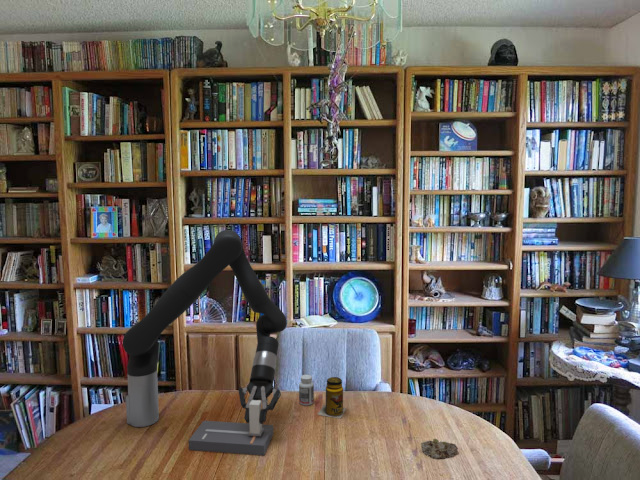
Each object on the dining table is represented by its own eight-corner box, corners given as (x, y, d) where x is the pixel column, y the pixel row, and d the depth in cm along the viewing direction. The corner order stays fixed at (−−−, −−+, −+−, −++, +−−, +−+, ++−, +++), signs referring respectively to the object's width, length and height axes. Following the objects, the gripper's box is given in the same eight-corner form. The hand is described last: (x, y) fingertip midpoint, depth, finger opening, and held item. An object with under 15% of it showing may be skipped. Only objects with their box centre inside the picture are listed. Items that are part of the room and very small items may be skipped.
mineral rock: (423, 453, 133) (420, 431, 140) (421, 464, 135) (418, 442, 142) (461, 456, 132) (456, 434, 140) (459, 467, 134) (454, 445, 141)
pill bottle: (307, 397, 173) (307, 372, 172) (316, 402, 169) (316, 377, 168) (296, 402, 170) (295, 376, 168) (305, 407, 165) (304, 381, 164)
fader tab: (247, 435, 140) (247, 405, 139) (251, 428, 144) (250, 399, 143) (260, 436, 139) (260, 405, 138) (263, 429, 143) (263, 399, 142)
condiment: (341, 418, 157) (341, 384, 156) (317, 415, 160) (317, 381, 158) (346, 409, 164) (346, 376, 163) (323, 405, 167) (323, 373, 165)
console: (188, 449, 138) (188, 439, 138) (203, 429, 150) (203, 420, 150) (264, 455, 136) (263, 445, 135) (273, 434, 147) (273, 424, 147)
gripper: (239, 362, 148) (228, 417, 138) (283, 364, 146) (275, 420, 136) (245, 372, 154) (234, 425, 143) (286, 374, 152) (279, 428, 142)
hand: (254, 422), depth 140 cm, fingers open, 3 cm apart
